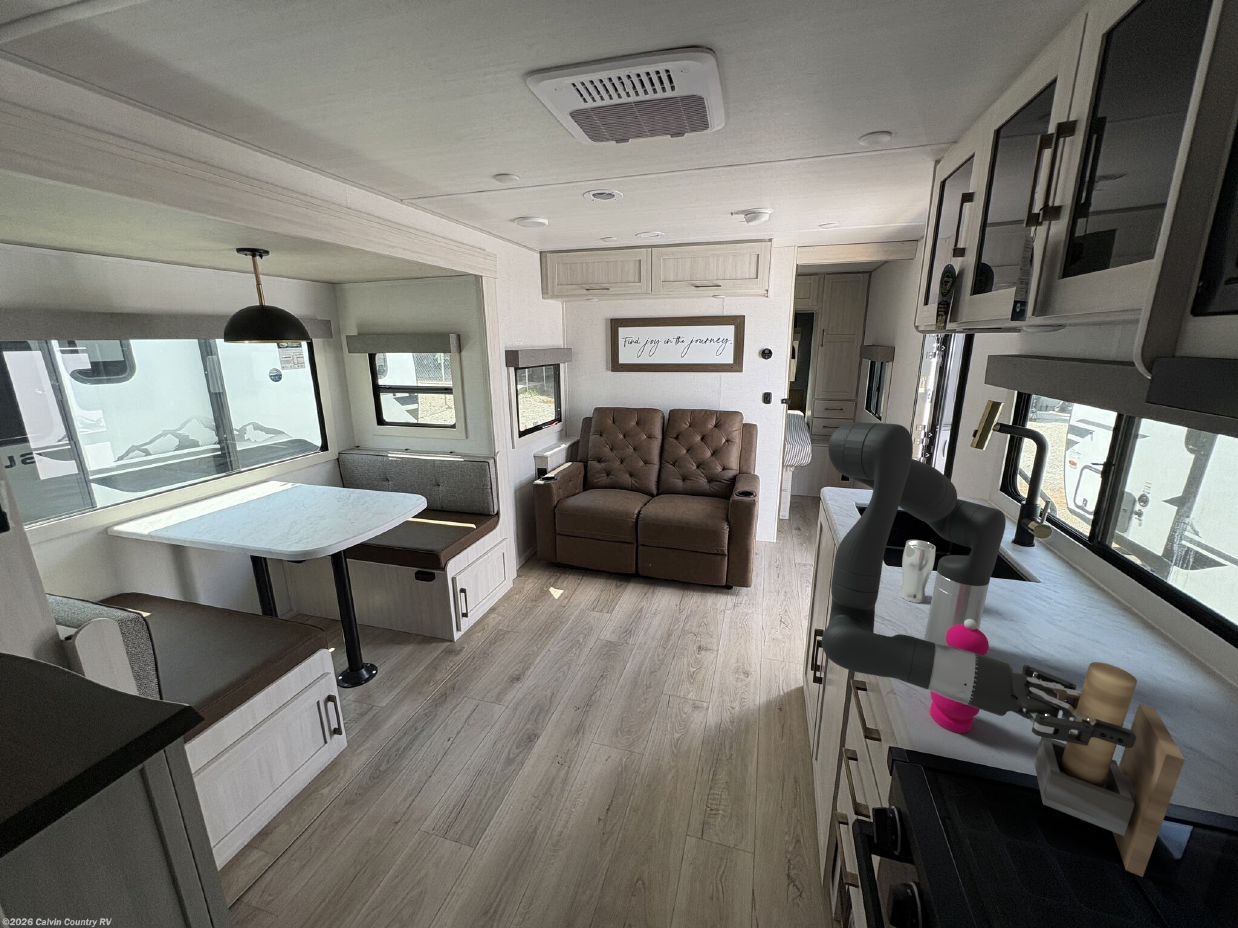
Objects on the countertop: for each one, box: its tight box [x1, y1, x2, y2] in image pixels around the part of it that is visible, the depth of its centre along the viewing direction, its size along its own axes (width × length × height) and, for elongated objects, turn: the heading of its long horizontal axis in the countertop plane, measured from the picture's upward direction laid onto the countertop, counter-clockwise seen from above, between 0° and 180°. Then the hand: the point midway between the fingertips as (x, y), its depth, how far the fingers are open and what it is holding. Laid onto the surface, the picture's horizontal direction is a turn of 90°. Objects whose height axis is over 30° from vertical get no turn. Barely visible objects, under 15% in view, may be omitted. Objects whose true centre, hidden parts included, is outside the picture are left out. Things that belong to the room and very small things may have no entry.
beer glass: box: [898, 539, 937, 604], centre depth 127 cm, size 7×7×15 cm
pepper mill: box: [929, 619, 990, 734], centre depth 84 cm, size 7×7×20 cm
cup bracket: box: [1033, 703, 1186, 878], centre depth 66 cm, size 10×10×18 cm
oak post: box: [1060, 661, 1138, 788], centre depth 65 cm, size 4×4×16 cm
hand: (1126, 727), depth 63 cm, fingers closed on oak post, 4 cm apart
